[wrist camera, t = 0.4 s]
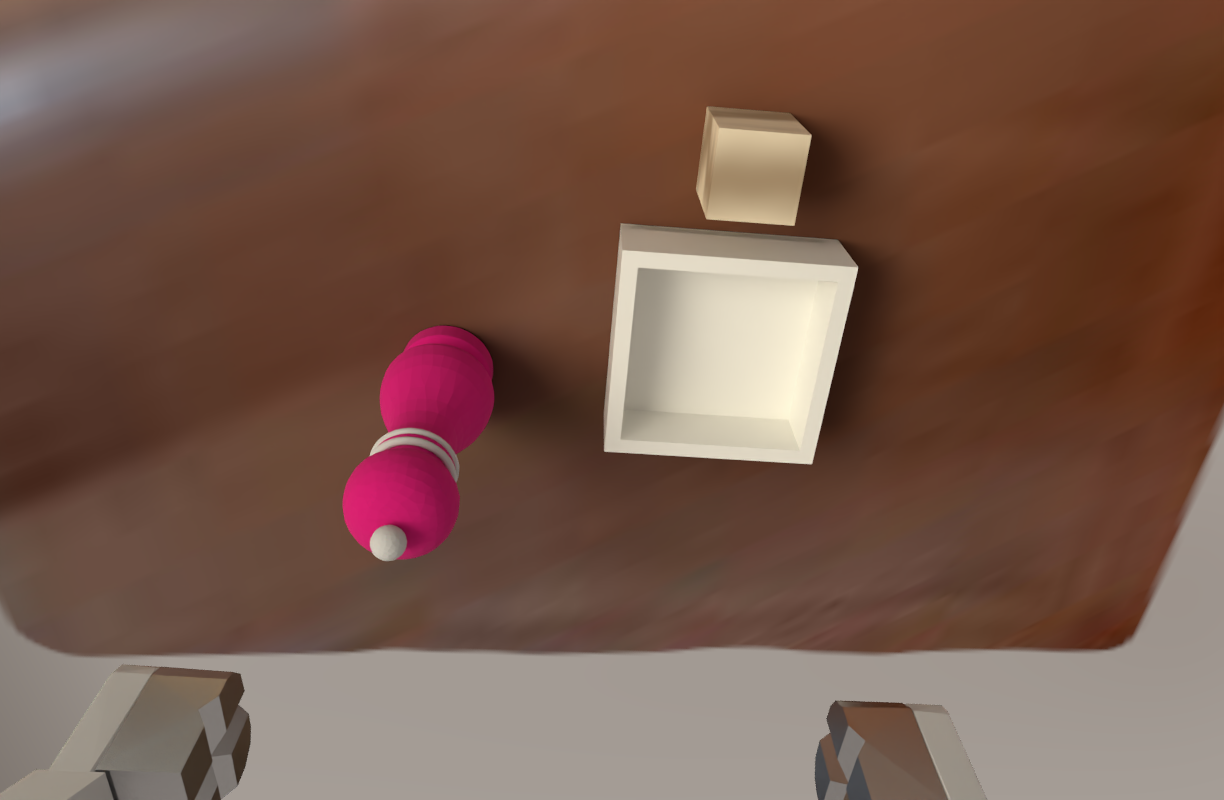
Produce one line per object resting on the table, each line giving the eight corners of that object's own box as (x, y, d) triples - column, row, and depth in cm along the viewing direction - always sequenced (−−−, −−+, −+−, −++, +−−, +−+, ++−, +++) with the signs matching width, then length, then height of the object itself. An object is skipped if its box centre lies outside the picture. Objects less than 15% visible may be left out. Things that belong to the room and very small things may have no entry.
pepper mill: (391, 315, 57) (299, 490, 39) (500, 320, 57) (456, 496, 40) (399, 408, 60) (318, 607, 43) (501, 412, 61) (461, 612, 43)
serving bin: (620, 223, 54) (622, 250, 49) (837, 239, 54) (858, 267, 50) (603, 413, 61) (604, 451, 56) (796, 425, 61) (811, 464, 57)
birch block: (706, 106, 50) (719, 127, 45) (789, 112, 51) (811, 135, 45) (695, 189, 53) (706, 219, 48) (775, 195, 53) (794, 225, 48)
